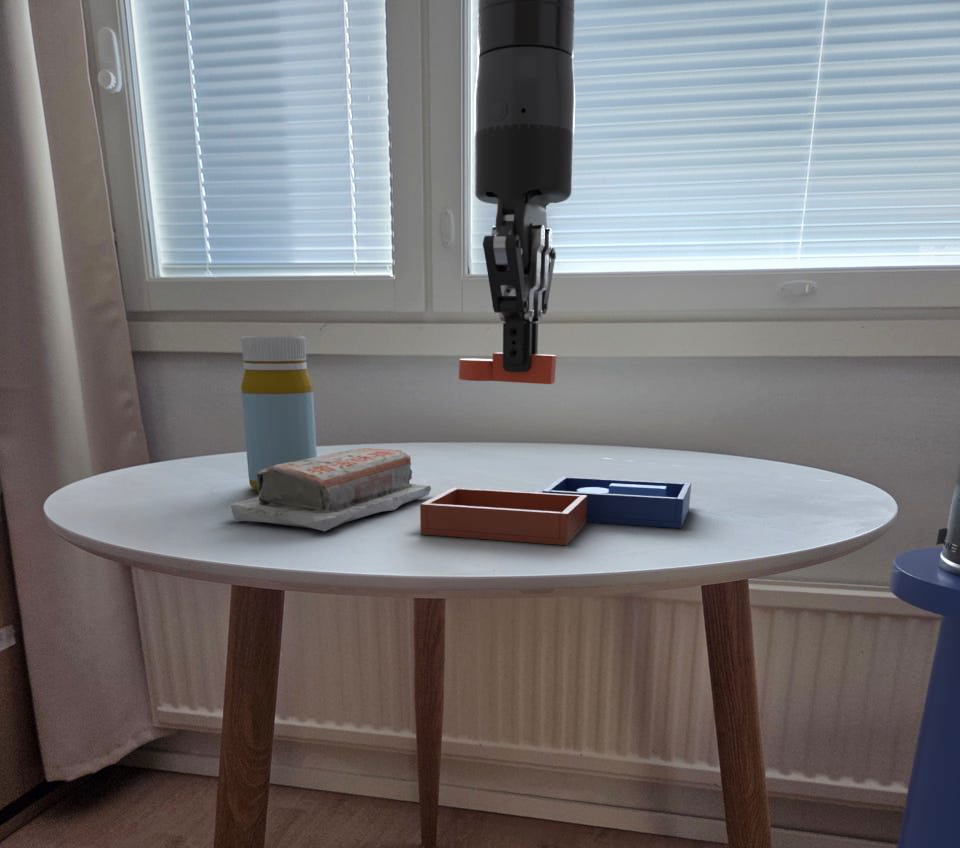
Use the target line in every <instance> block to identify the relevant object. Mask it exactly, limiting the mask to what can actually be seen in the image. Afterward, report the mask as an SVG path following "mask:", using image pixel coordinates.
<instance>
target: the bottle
mask: <svg viewBox="0 0 960 848" xmlns="http://www.w3.org/2000/svg"><path fill="white" fill-rule="evenodd" d="M240 340H241V341H240V342H241V350H242V351H241V352H242V359H243V361H244V362H243V370H244V373H243V378H242V381H241V385H240V388H241V389H240V390H241V392H240V393H241V404H242V415H243V427H244V438H245V449H246V460H247V472H248V482H249V486H250V487H251V488H252V489H253V490H254V491H255V492H256V493H259V491H258V485H257V480H256V478H257V474H258V473H259V471H260V470H263V469H265V468H268V467H270V466H274V465H277V464H283V463H288V462H293V461H299V460H304V459H309V458H314V457H318V452H317V438H316V437H317V433H316V420H315V419H316V418H315V417H316V416H315V402H314V401H315V400H314V390H313V389H314V388H313V383H312V381H311V378H310V374H309V373H308V370H307V369H308V367H307V366H308V364H307V357H308V356H307V342H306V340H307V339H306V336H299V335H298V336H297V335H296V336H295V335H294V336H293V335H274V336H273V335H254V336H253V335H252V336H251V335H250V336H249V335H248V336H247V335H245V336H243V335H242V336H241V339H240Z"/></svg>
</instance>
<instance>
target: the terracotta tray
mask: <svg viewBox="0 0 960 848" xmlns="http://www.w3.org/2000/svg"><path fill="white" fill-rule="evenodd" d="M419 511H420V512H419V513H420V517H419V519H420V522H419V523H420V535H424V536H438V537H451V538H464V539H479V540H489V541H490V540H491V541H503V542H504V541H505V542H517V543H529V544H530V543H531V544H542V545H543V544H544V545H555V546H567V545H568V544H569V543H570V542H572V540H573V539H574V538H575V537H576V535H578V533H580V531H582V529H583V528H585V526H586V525H587V522H586V515H587V495H572V494H555V493H542V492H537V491H522V490H521V491H518V490H503V489H501V490H500V489H486V488H467V487H451V488H448V489H447V490H445V491H444V492H442V493H440V494H438V495H435V496H434V497H432V498H429V499H427V500H425V501H424V502H422V503H420V505H419Z"/></svg>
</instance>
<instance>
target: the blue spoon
mask: <svg viewBox="0 0 960 848" xmlns="http://www.w3.org/2000/svg"><path fill="white" fill-rule="evenodd" d="M577 492H588V493H605V494H622V495H640V496H657V497H666V493H667V486H653V485H634V484H616V483H611V484H610V485H609V489H606V488H599V487H586V488H579V489H577Z"/></svg>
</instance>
